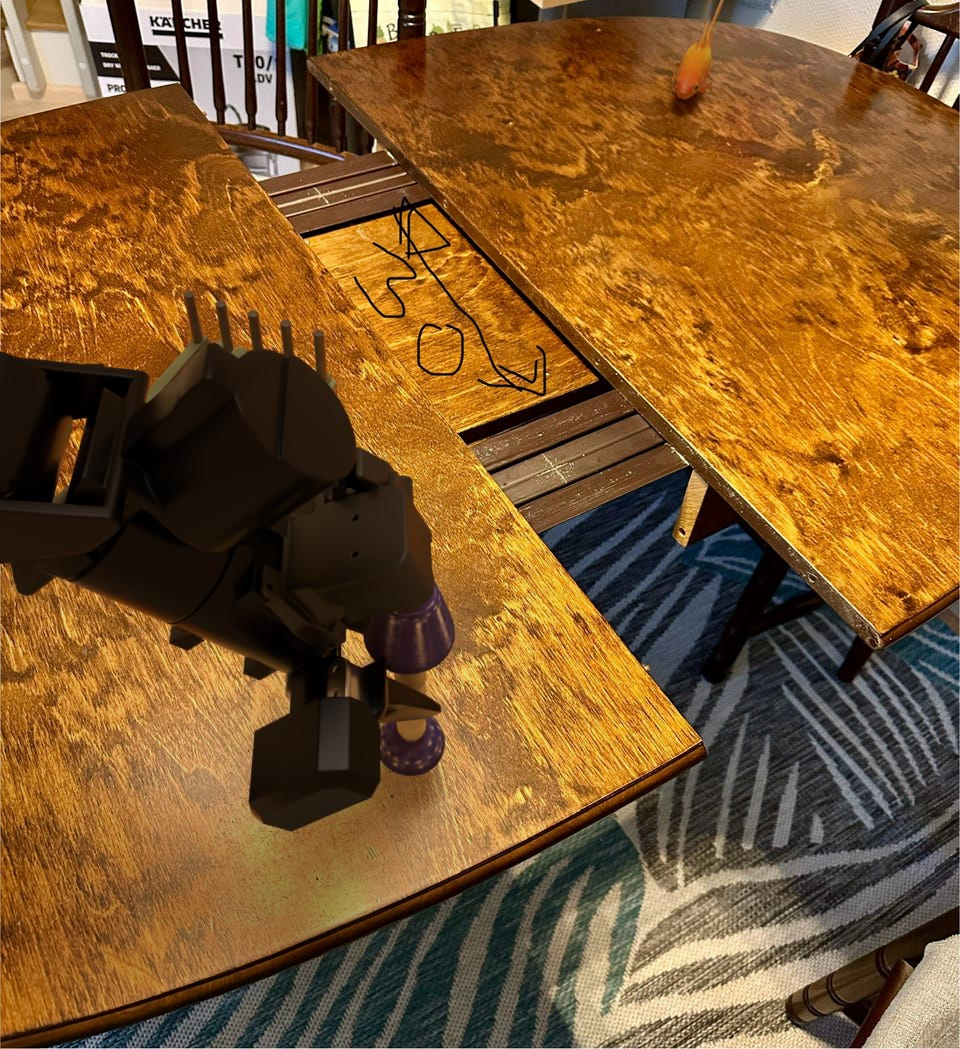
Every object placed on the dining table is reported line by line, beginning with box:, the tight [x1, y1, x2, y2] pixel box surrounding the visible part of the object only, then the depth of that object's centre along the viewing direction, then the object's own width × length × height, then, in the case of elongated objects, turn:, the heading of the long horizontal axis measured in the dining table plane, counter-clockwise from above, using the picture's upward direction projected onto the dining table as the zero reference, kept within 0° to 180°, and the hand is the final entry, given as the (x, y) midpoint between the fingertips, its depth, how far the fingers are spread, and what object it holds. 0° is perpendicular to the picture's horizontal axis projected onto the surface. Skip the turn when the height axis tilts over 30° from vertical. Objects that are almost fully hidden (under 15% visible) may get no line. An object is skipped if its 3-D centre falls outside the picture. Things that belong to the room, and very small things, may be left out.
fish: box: [672, 0, 725, 100], centre depth 119 cm, size 22×6×10 cm, turn 159°
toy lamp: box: [362, 581, 456, 777], centre depth 49 cm, size 5×5×17 cm
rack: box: [146, 290, 339, 403], centre depth 74 cm, size 14×12×7 cm
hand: (433, 679), depth 49 cm, fingers closed on toy lamp, 4 cm apart
